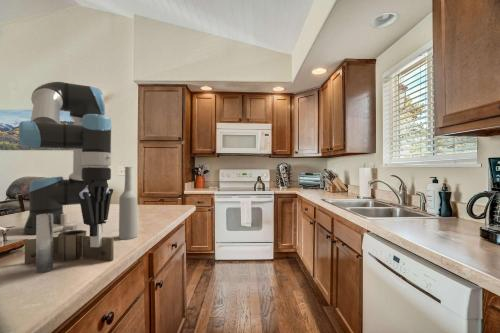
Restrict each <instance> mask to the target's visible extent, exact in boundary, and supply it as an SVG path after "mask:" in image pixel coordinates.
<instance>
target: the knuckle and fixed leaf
mask: <svg viewBox="0 0 500 333" xmlns="http://www.w3.org/2000/svg"><path fill="white" fill-rule="evenodd" d="M83 236H87V230H83V229H80V230H79V229H76V230H67V232H62V233H61V232H60V233H59V234H57V236H53V261H59V262H72V261H73V262H74V261H77V260H80V259H84V258H83ZM31 263H36V238H30V239H24V264H25V265H26V264H31Z"/></svg>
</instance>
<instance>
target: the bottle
mask: <svg viewBox="0 0 500 333" xmlns="http://www.w3.org/2000/svg"><path fill="white" fill-rule="evenodd" d="M132 169H133V166H124V190H123V192H122V194H120V196H119V201H118V202H119V206H118V207H119V209H118V211H119V212H118V215H119V216H118V239H119V240H132V239H135V238H138V196H137V195H136V193H135V192H134V191H133V181H132V180H133V179H132V178H133V177H132V176H133V174H132V171H133V170H132Z"/></svg>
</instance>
